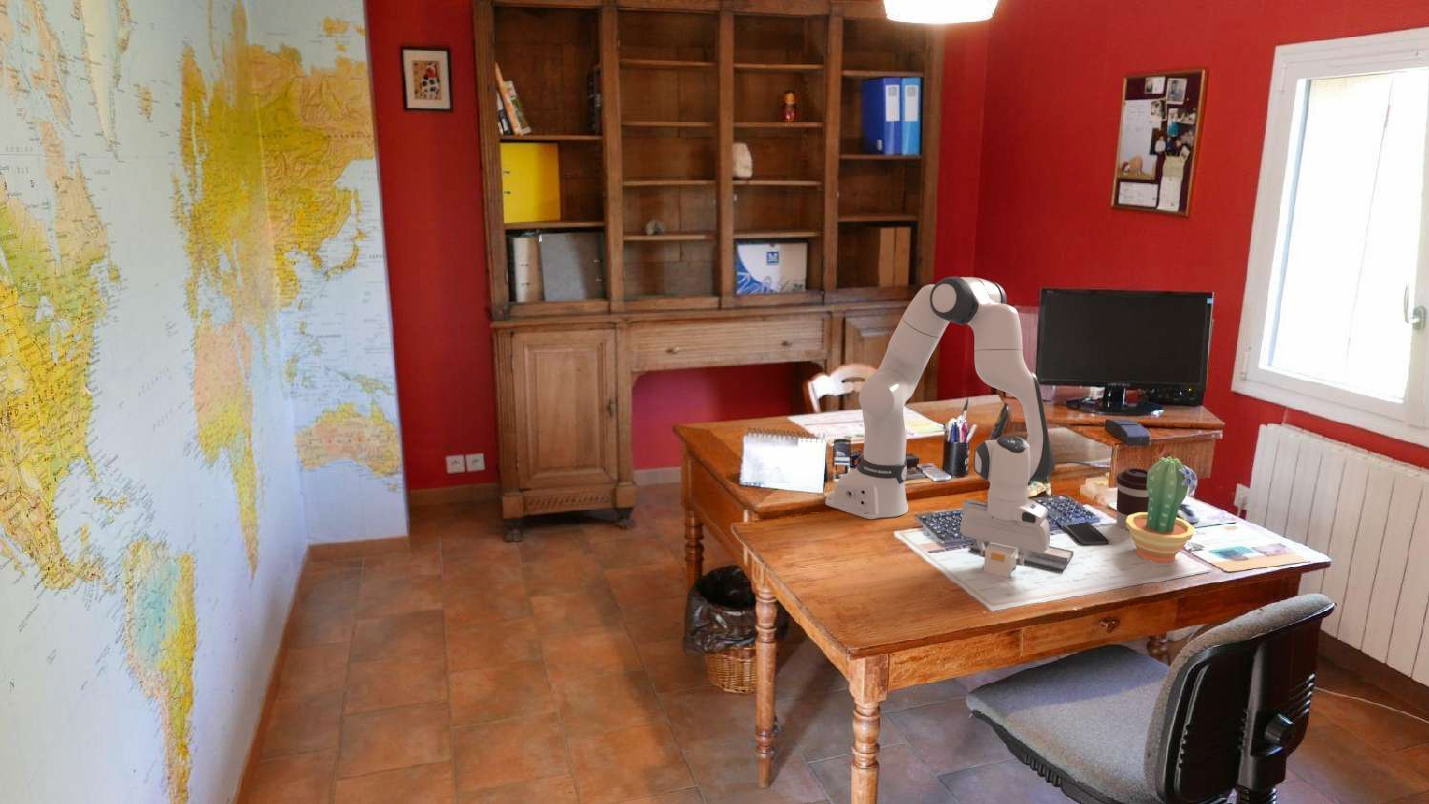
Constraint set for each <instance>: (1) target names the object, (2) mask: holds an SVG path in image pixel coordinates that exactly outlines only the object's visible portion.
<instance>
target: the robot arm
mask: <svg viewBox="0 0 1429 804" xmlns="http://www.w3.org/2000/svg"><path fill="white" fill-rule="evenodd" d="M1007 301H1008V300H1007V293H1006V292H1005V289H1004V288H1003V287H1002V286H1001V285H1000V284H998V283H997V282H994V281H993V280H990V279H983V278H979V277H974V276H969V277H965V276H962V277H959V276H950V277H945V278H943V279H941V280H938V282H936V283H934V284H931V283H930V284H927V285H925V286H923V287H921V289H919V291H918V292H917V293H916V295H915V296H914V297H913V299H912V300H911V301H910V303H909V304H908V306H907V308H906V309H905V310H904V313H903V315H902V317H901V319H900V320H899V322H898V324H897V327H896V328H895V330H894V332H893V334H892V336H891V337H890V339H889V342H888V344H887V345H888V346H887V348H886V351H885V354H884V356H883V359H882V361H881V364H880V365H879V367H878V368H877V370H875V372H874V373H873V374H872V375H871V376H870V377H868V378H867V379H866V380H865V381H864V382H863V384H862V386H861V388H860V390H859V394H858V403H859V406H860V408H861V410H862V417H863V418H862V419H863V424H864V425H863V426H864V441H863V442H864V443H863V444H864V445H863V452H862V453H861V454H860V456H857V458H856V459H855V461H854V462H855V463H854V466H856V467H855V468H854V469H852V470H850V471H849V472H847V473H845V474H844V475H842V476H841V477H840V478H839V479H838V480H837V482H836V484H835V486H834V490H832V491H831V492H829V493H828V495H827V496H826V497H825V501H824V505H826V506H828V507H831V508H834V509H837V510H840V511H843V512H846V513H848V514H853V515H855V516H859V517H861V518H864V519H867V520H875V519H880V518H896V517H898V516H902V515H905V514H906V513H907V512H908V511H909V505H908V501H907V495H906V494H907V493H906V479H907V471H908V468H907V464H908V463H907V462H908V461H907V458H906V453H907V452H906V451H907V439H908V438H907V437H908V432H907V431H908V430H907V428H906V424H905V418H904V408H905V403H906V402H907V401H908V400H910V398H912V396H913V394H914V392H915V390H916V389H917V387H918V384H919V382H920V380H921V378H922V376H923V373H924V372H925V368H926V367H927V365H928V362H929V360H930V358H931V356H932V354H933V352H934V351H935V349H936V348H937V346H938V344H939V342H940V340H941V338H942V336H943V334H944V333H945V331H946V328H947V327H948V325H949V324H950V323H954V324H957V325H959V326H966V325H967V326H969V327H970V328H971V330H972V331H973V336H974V347H973V348H974V351H973V352H974V356H973V357H974V367H975V372H976V374H977V376H978V377H979V379H980V380H981V381H982V382H984V383H985V384H987V385H988V386H990V387H991V388H994V389H996V390H999V391H1002V392H1005V393H1007V394H1010V395H1011V396H1013V397H1015V398H1016V399H1017V400H1018V401H1019V403H1020V404H1021V406H1022V410H1023V415H1024V420H1025V426H1026V427H1025V428H1026V431H1027V432H1026V433H1027V438H1026V439H1024V438H1022V437H1021V436H1017V435H1011V434H1010V435H1006V434H1005V435H1001V436H999V437H997V438H996V439H988V440H983V441H981V442H979V444H978V445H977V446H976V448H975V449H974V455H973V470H974V472H975V474H977V475H978V477H980V478H981V479H983V480H984V481H986V482H989V489H988V491H987V501H985V500H977V499H975V498H968V499H966V500H964V501H963V502H962V504H961V512H962V518H961V521H960V527H959V532H960V534H961V535H962V536H963V537H967V538H971V539H975V540H976V539H977V545H978V547H979V549H980V550H981V553H979V554H980V555H979V556H980V557H981V558H985V552H986V548H985V545H984V543H983V542H984V541H988V542H992V543H997V544H1001V545H1006V546H1010V547H1015V548H1019V549H1022V553H1024V554H1023V555H1022V556H1018V557H1017V558H1016V565H1017V566H1020V567H1023V566H1024V565H1025V564H1024V558H1025V557H1026V556H1027V555H1028V553H1029V552H1030V551H1033V552H1037V553H1044V552H1045V551H1047V549H1048V548H1049V546H1050V544H1051V531H1050V529H1051V527H1050V523H1049V521H1048V520H1047V516H1048V508H1047V507H1045V506H1044V505H1041V504H1040V503H1038V502H1036V501H1034V500H1032V499H1030V498H1029V491H1028V484H1029V482H1033V483H1041V482H1043V481H1045V480H1047V478H1049V477H1050V476H1051V475H1052V473H1054V471H1055V468H1056V460H1055V453H1054V449H1053V446H1052V443H1051V439H1050V436H1049V430H1048V424H1047V417H1046V411H1045V406H1044V401H1043V397H1042V396H1043V394H1042V390H1041V387H1040V382H1039V379H1038V377H1037V375H1036V374H1035V373H1034V372H1032V371H1031V370H1029V368H1028V366H1027V364H1026V362H1025V359H1024V353H1023V352H1024V350H1023V349H1024V348H1023V345H1024V343H1023V333H1022V332H1023V331H1022V325H1021V320H1020V316H1019V312H1018V310H1017V309H1016V308H1015V307H1014V306H1011V305H1009V304H1007Z"/></svg>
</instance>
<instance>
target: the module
mask: <svg viewBox="0 0 1429 804" xmlns="http://www.w3.org/2000/svg"><path fill="white" fill-rule="evenodd" d="M1017 557H1018V548H1015V547H1010V546H1006V545H1001V544H997V543H992V542H990V544H989V545H988V546H987V547H986V552H985V557H984V563H983V564H984V565H983V566H984V567H983V572H985V573H988V574H992V575H997V576H1002V577H1005V578H1010V577H1011V575H1012V574H1011V573H1012V571H1013V570H1014V569H1015V570H1016V569H1017V566H1018V565H1016V558H1017Z"/></svg>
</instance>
